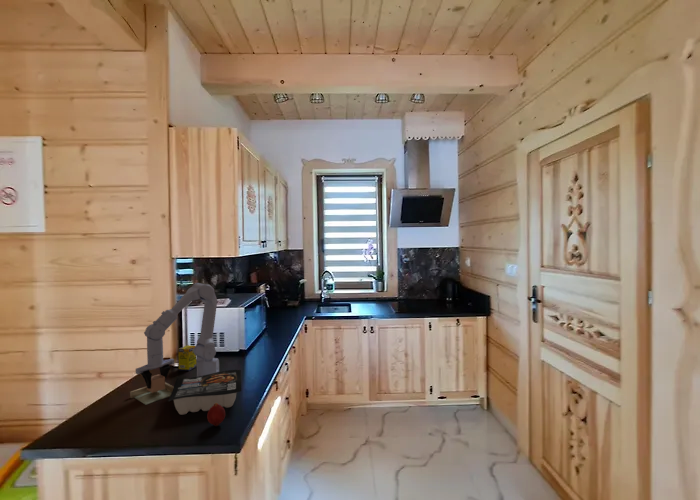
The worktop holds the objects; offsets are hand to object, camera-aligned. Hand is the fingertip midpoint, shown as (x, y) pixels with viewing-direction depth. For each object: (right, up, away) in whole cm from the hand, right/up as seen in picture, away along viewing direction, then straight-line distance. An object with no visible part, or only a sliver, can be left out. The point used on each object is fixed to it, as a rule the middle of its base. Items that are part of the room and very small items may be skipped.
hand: (156, 385), depth 143 cm
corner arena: (0, -3, -1) cm, 4 cm away
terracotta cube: (0, -2, 0) cm, 2 cm away
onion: (+35, -4, -25) cm, 44 cm away
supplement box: (0, -3, +28) cm, 28 cm away
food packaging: (+24, -4, -6) cm, 26 cm away
